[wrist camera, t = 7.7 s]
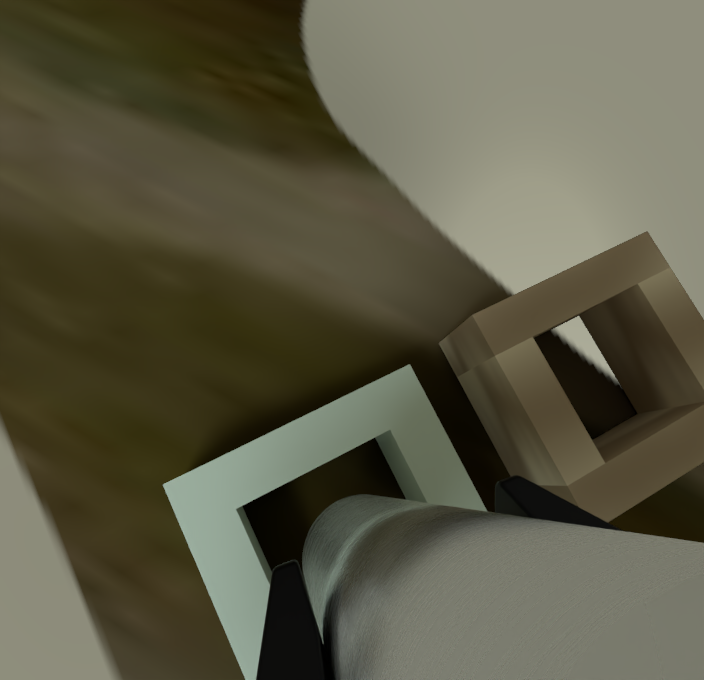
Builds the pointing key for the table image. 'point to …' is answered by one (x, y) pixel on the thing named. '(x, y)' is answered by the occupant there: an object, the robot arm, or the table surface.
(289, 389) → the table surface
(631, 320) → the brown square frame
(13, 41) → the table surface
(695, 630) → the axle
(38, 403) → the table surface
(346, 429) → the socket block
